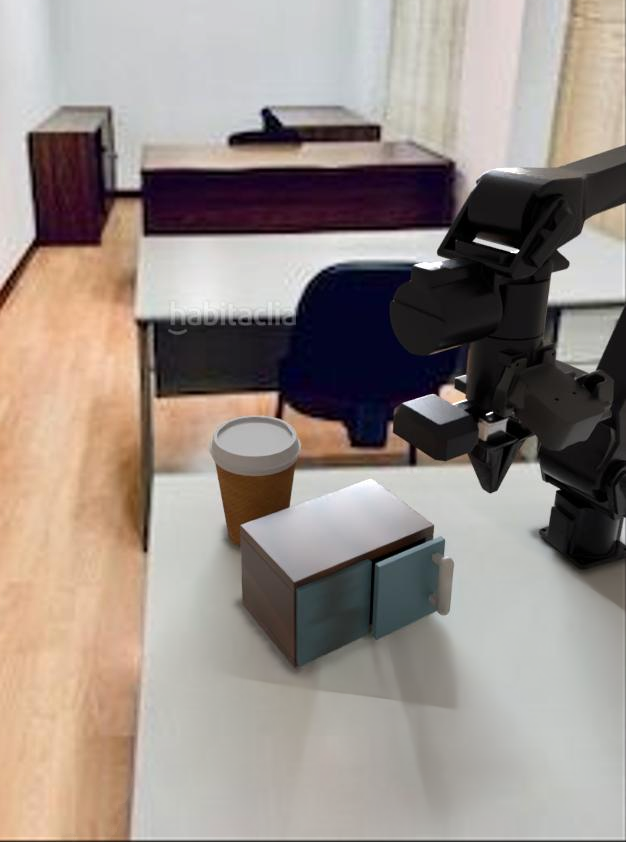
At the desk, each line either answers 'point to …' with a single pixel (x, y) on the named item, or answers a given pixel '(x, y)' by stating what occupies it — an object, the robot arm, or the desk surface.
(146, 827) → the desk surface
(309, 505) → the cabinet
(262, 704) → the desk surface
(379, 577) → the sliding door
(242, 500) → the disposable coffee cup
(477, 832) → the desk surface
